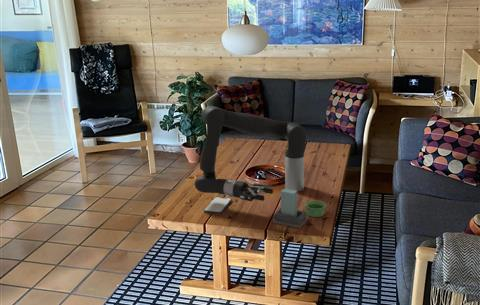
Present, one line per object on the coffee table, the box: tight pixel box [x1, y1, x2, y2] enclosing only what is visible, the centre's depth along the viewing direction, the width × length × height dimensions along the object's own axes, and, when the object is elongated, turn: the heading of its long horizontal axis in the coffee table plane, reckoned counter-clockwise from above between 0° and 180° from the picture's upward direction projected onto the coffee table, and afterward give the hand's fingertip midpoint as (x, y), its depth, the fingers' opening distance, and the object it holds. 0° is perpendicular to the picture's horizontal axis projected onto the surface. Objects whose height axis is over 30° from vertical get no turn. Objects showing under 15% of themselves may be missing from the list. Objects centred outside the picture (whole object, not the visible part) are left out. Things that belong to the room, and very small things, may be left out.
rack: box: [271, 207, 309, 229], centre depth 224 cm, size 9×13×4 cm
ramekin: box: [305, 200, 327, 218], centre depth 231 cm, size 9×9×4 cm
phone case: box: [203, 196, 233, 215], centre depth 242 cm, size 9×2×16 cm
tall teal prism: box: [280, 188, 298, 217], centre depth 222 cm, size 4×6×13 cm, turn 60°
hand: (268, 194), depth 226 cm, fingers open, 8 cm apart
